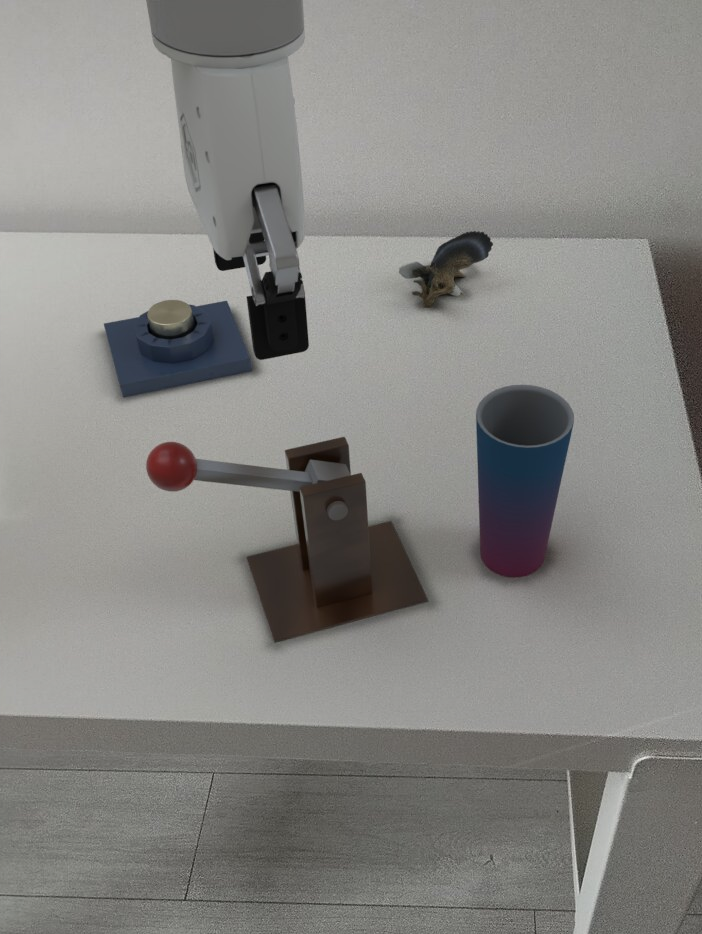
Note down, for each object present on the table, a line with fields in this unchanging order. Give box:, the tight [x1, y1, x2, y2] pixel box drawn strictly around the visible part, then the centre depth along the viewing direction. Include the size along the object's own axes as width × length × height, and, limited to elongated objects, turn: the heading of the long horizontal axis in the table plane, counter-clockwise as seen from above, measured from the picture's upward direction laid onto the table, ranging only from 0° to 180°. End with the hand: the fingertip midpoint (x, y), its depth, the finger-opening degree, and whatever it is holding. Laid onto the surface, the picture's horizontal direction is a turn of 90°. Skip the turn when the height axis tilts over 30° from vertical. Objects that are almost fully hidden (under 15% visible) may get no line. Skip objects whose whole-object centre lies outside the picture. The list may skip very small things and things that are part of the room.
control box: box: [103, 300, 253, 398], centre depth 98 cm, size 12×10×4 cm
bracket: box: [245, 436, 429, 644], centre depth 77 cm, size 12×9×13 cm
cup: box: [475, 384, 575, 578], centre depth 78 cm, size 7×7×15 cm
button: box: [147, 299, 195, 340], centre depth 97 cm, size 4×4×2 cm
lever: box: [145, 441, 350, 493], centre depth 70 cm, size 14×3×3 cm, turn 110°
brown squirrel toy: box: [398, 230, 494, 308], centre depth 106 cm, size 8×7×9 cm
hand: (260, 307), depth 64 cm, fingers open, 9 cm apart
